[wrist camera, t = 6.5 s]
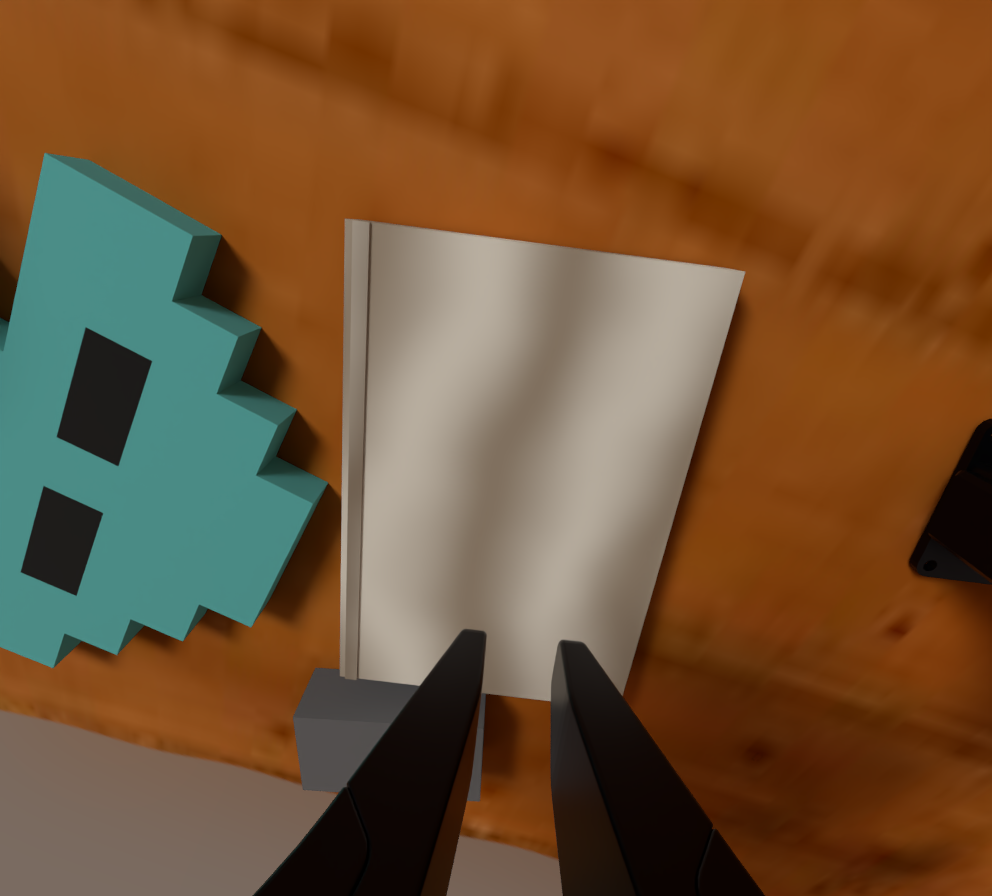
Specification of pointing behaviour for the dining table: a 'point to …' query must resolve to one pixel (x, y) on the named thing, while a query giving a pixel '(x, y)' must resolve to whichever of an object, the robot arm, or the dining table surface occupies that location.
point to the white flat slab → (513, 446)
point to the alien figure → (132, 430)
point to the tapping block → (353, 727)
